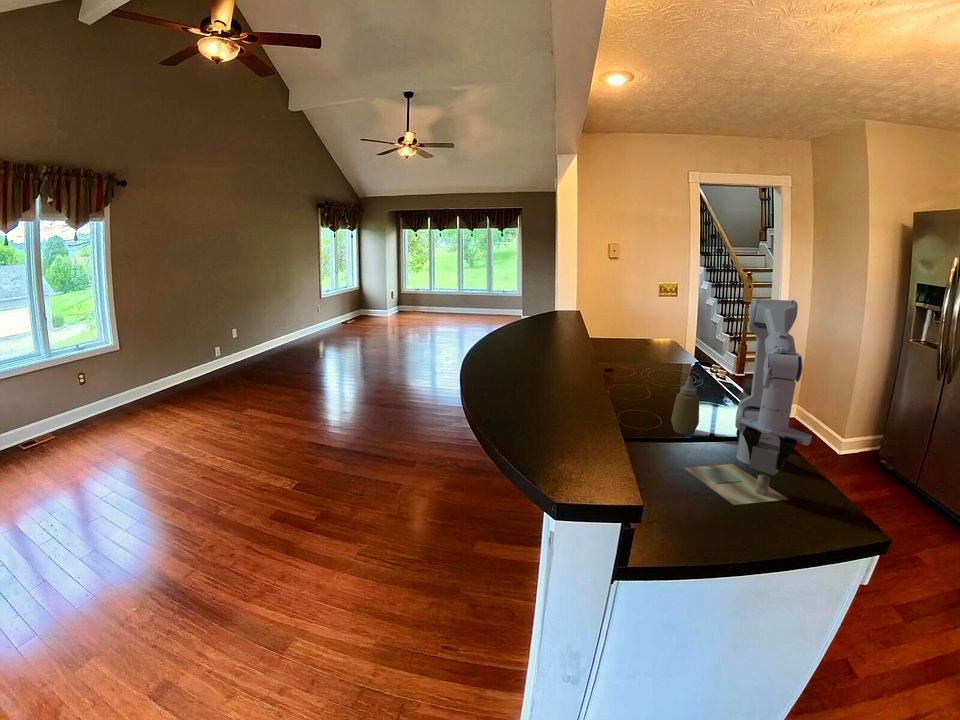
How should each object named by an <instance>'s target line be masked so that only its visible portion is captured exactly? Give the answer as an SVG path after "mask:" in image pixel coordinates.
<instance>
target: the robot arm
mask: <svg viewBox="0 0 960 720" xmlns="http://www.w3.org/2000/svg"><path fill="white" fill-rule="evenodd" d="M798 310H799V309H798V302H797V301H796V300H795V299H791V300H789V299H788V300H783V299H767V298H765V299H764V298H755V297H754V299H752V300H751V302H750V308H749V314H748V316H749V317H748V331H749V332H750V333H751V332H752V333H753V334H754V336H755V341H756V344H755V356H754V364H753V373H752V380H753V382H752V392H751V396H749V397H747V398H745V399H743V400H742V399H741V400H740V401H739V402H738V404H737V409H736V415H735V424H734V426H735V428H736V431H737V430H740V437H739V439H738V443H737V444H738V445H737V451H736V459H737V460H738V461H739V462H742V463H743V464H747V465H750V460H751V454H752V447H753V446H755V445H756V444H758V443H759V442H761V441H762V442H765V443H769V444H772V445H775V446H779V447H780V453H779V459H778V463H777V470H780V471H781V470H783V469H784V468H785V467H784V466H785V464H786V461H787V460H788V458H789V456H790V455H791V453H792V452H793V451H794V449H795V448H796V447H797V446H798V445H799V444H800V443H801V444H802V445H804V446H809V445H810V444H811V442H812V436H813V435H812V434H809V433H806V432H802V431H801V430H797V429H795V428H792V427H789V423H790V417H791V412H792V406H793V402H794V395H795V391H796V390H795V389H796V384H797V383H798V382H799V381H800V380H801V376H802V372H803V357H802V355H801V354H800V353H799V352H797V350H796V345H795V338H794V336H792V334H790V333H789V332H790V331H791V329H792V328H793V325H794V324H795V323H796V319H797V317H798V316H797V315H798ZM747 406H750V407H758V408H760V409H752V408H745V407H747ZM780 438H782V440H781V439H780Z"/></svg>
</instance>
